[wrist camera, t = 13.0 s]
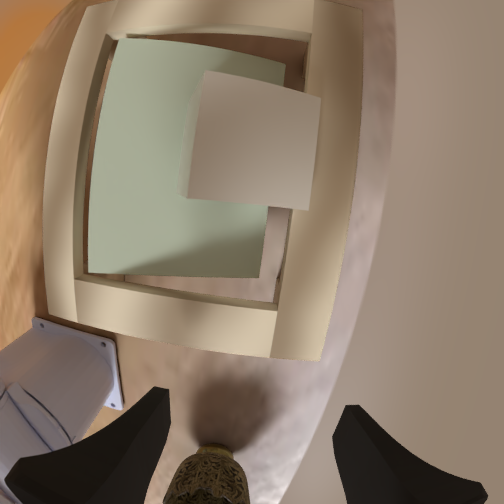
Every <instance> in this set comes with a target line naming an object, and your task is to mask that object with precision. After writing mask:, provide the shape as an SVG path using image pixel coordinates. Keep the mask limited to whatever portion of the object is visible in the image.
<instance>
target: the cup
mask: <svg viewBox="0 0 504 504" xmlns="http://www.w3.org/2000/svg"><path fill="white" fill-rule="evenodd" d="M163 504H250V498H249V490H248V483H247V479H246V475H245V472H244V471H243V469H242V467H241V466H240V465H239V464H238V463H237V462H236V461H235V460H233V455H232V453H231V451H230V450H229V449H228V448H227V447H225V446H223V445H220V444H214V443H210V444H205V445H203V446H201V447H200V448H199V449H198V450H197V452H196V454H194V455H191V456H189V457H188V458H186V459H185V460H184V461H183V462H182V463H181V464H180V466H179V467H178V469H177V471H176V473H175V475H174V477H173V479H172V481H171V483H170V486H169V488H168V490H167V493H166V495H165V497H164V499H163Z"/></svg>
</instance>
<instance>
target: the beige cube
mask: <svg viewBox="0 0 504 504" xmlns="http://www.w3.org/2000/svg"><path fill="white" fill-rule="evenodd" d="M320 105H321V98H319V97H316V96H313V95H310V94H307V93H303V92H300V91H297V90H293V89H290V88H286V87H282V86H279V85H275V84H271V83H267V82H263V81H259V80H254V79H250V78H245V77H240V76H236V75H230V74H225V73H220V72H214V71H208V70H205V72H204V74H203V76H202V77H201V79H200V81H199V83H198V85H197V87H196V89H195V91H194V93H193V95H192V97H191V98H190V100H189V102H188V108H187V115H186V121H185V127H184V134H183V141H182V149H181V156H180V164H179V173H178V182H177V191H176V193H177V194H179V195H181V196H183V197H185V198H187V199H200V200H212V201H223V202H234V203H244V204H254V205H263V206H273V207H281V208H290V209H298V210H306V211H309V203H310V196H311V188H312V180H313V172H314V163H315V155H316V146H317V136H318V126H319V116H320Z"/></svg>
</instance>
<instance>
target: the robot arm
mask: <svg viewBox="0 0 504 504" xmlns="http://www.w3.org/2000/svg"><path fill="white" fill-rule="evenodd" d="M32 326H33V328H31V329H30V330H28V331H27V332H26V333H24V334H23V335H22V336H20V337H19V338H17V339H16V340H15V341H13V342H12V343H11V344H9V345H8V346H7V347H5V348H4V349H3V350H1V351H0V504H144V501H145V497H146V493H147V489H148V486H149V483H150V481H151V478H152V476H153V473H154V471H155V468H156V466H157V463H158V461H159V458H160V456H161V454H162V451H163V449H164V446H165V444H166V440H167V436H168V433H169V428H170V424H171V417H170V398H169V389H164V388H160V387H153V388H152V389H151V390H150V391H149V392H148V393H147V394H146V395H144V396H143V397H142V398H141V399H140V400H139V401H138V402H137V403H136V404H135V405H133V406H132V407H131V408H130V409H129V410H127V411H126V412H125V413H124V414H123V415H121V416H120V417H119V418H117V419H116V420H115V421H113V422H112V423H110V424H109V425H108V426H106V427H105V428H103V429H101V430H100V431H98V432H96V433H95V434H93V435H91V436H89V437H87V438H85V439H83V440H82V438H83V437H84V435H85V433H86V432H87V430H88V429H89V427H90V426H91V424H92V422H93V421H94V419H95V418H96V416H97V415H98V413H99V411H100V410H101V408H102V407H103V405H104V406H107V407H110V408H114V409H117V410H122V409H123V408H124V404H123V398H122V392H121V386H120V379H119V372H118V364H117V356H116V347H115V343H114V341H112V340H111V339H108V338H104V337H100V336H97V335H93V334H89V333H86V332H82V331H79V330H75V329H72V328H69V327H65V326H62V325H59V324H56V323H53V322H50V321H47V320H44V319H41V318H38V317H34V318H32ZM103 342H104V343H105V344H106V345H104V344H103ZM114 404H115V405H114ZM332 439H333V448H334V454H335V459H336V463H337V467H338V470H339V474H340V477H341V481H342V484H343V488H344V492H345V495H346V500H347V504H484V503H485V501H486V500H487V498H488V494H487V493H486V491H485V489H484V488H483V486H482V484H481V483H480V482H475V481H471V480H467V479H463V478H460V477H457V476H454V475H452V474H449V473H447V472H444V471H442V470H440V469H438V468H436V467H434V466H432V465H430V464H428V463H426V462H424V461H423V460H421V459H420V458H418V457H417V456H415V455H414V454H412V453H411V452H409V451H408V450H407V449H406V448H404V447H403V446H402V445H401V444H399V443H398V442H397V441H396V440H395V439H393V438H392V437H391V436H390V435H389V434H388V433H387V432H386V431H385V430H384V429H383V428H382V427H380V426H379V425H378V423H377V422H376V421H375V420H374V419H372V417H371V416H370V415H369V414H368V413H367V412H366V411H365V410H364V409H363V408H362V407H361V406H360V405H346V406H345V408H344V411H343V413H342V416H341V418H340V420H339V423H338V425H337V427H336V429H335V432H334V434H333V436H332Z"/></svg>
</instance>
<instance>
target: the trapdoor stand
mask: <svg viewBox="0 0 504 504" xmlns="http://www.w3.org/2000/svg"><path fill="white" fill-rule="evenodd" d="M179 33H228V34H245V35H257V36H267V37H276V38H283V39H290V40H297V41H303V42H308V45H307V48H306V51H305V54H304V62H303V73H302V78H305V87H304V93H307V94H310V95H313V96H316V97H319V98H321V105H320V116H319V126H318V136H317V146H316V155H315V163H314V172H313V180H312V188H311V196H310V203H309V211H306V210H298V209H290V214H289V221H288V229H287V236H286V243H285V249H284V256H283V263H282V269H281V276H280V278H277V280H276V286H275V293H274V299H273V303H271V302H262V301H253V300H245V299H237V298H229V297H221V296H214V295H207V294H200V293H193V292H186V291H179V290H173V289H166V288H160V287H154V286H148V285H142V284H136V283H130V282H124V274H107V273H88V261H86V262H84V263H83V213H84V195H85V182H86V172H87V163H88V154H89V147H90V140H91V134H92V127H93V122H94V116H95V111H96V106H97V101H98V97H99V92H100V88H101V84H102V79H103V75H104V72H105V68H106V64H107V61H108V58H109V59H110V60H111V61H113V58H114V54H115V51H116V48H117V44H118V41H119V38H136V39H147V38H146V37H145V36H150V35H162V34H179ZM362 89H363V11H362V10H361V9H358V8H354V7H350V6H347V5H343V4H339V3H335V2H330V1H326V0H113V1H108V2H104V3H100V4H96V5H92V6H89V7H87V9H86V11H85V13H84V16H83V18H82V20H81V23H80V25H79V28H78V31H77V33H76V36H75V39H74V42H73V44H72V47H71V50H70V53H69V56H68V60H67V63H66V66H65V70H64V73H63V77H62V80H61V84H60V88H59V92H58V96H57V101H56V105H55V110H54V115H53V120H52V126H51V131H50V138H49V144H48V152H47V160H46V169H45V180H44V195H43V260H44V275H45V286H46V296H47V304H48V311H49V314H50V315H53V316H56V317H60V318H63V319H66V320H70V321H73V322H77V323H80V324H84V325H88V326H91V327H95V328H99V329H103V330H107V331H111V332H115V333H120V334H124V335H128V336H133V337H137V338H142V339H147V340H152V341H157V342H162V343H167V344H172V345H178V346H184V347H190V348H196V349H202V350H209V351H216V352H223V353H231V354H239V355H247V356H256V357H266V358H277V359H290V360H304V361H320V357H321V353H322V350H323V346H324V342H325V338H326V334H327V330H328V326H329V322H330V317H331V313H332V309H333V304H334V300H335V295H336V291H337V286H338V281H339V276H340V271H341V266H342V261H343V255H344V250H345V244H346V238H347V232H348V226H349V220H350V213H351V206H352V199H353V192H354V184H355V176H356V167H357V158H358V148H359V137H360V124H361V109H362Z"/></svg>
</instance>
